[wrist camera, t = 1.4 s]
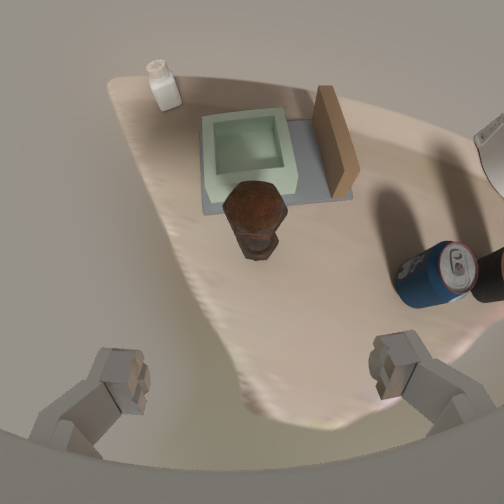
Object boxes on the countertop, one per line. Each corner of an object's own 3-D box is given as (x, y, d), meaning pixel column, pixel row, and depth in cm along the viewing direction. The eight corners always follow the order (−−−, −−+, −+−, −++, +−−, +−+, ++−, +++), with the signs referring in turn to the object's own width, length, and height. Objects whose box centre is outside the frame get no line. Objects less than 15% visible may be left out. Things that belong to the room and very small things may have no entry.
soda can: (435, 306, 38) (485, 296, 26) (394, 311, 38) (438, 302, 27) (430, 259, 40) (476, 235, 28) (390, 261, 40) (430, 236, 28)
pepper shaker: (183, 105, 48) (170, 67, 39) (161, 113, 48) (145, 77, 39) (178, 91, 49) (165, 54, 40) (157, 99, 49) (142, 63, 40)
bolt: (232, 239, 42) (214, 190, 27) (265, 223, 42) (266, 168, 27) (250, 277, 40) (242, 247, 26) (285, 261, 41) (296, 222, 26)
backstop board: (204, 215, 43) (190, 187, 34) (200, 135, 46) (188, 98, 37) (351, 199, 42) (369, 169, 34) (330, 122, 46) (340, 85, 37)
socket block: (211, 203, 42) (204, 187, 37) (207, 136, 45) (201, 116, 40) (294, 193, 42) (298, 176, 37) (282, 127, 45) (283, 106, 40)
